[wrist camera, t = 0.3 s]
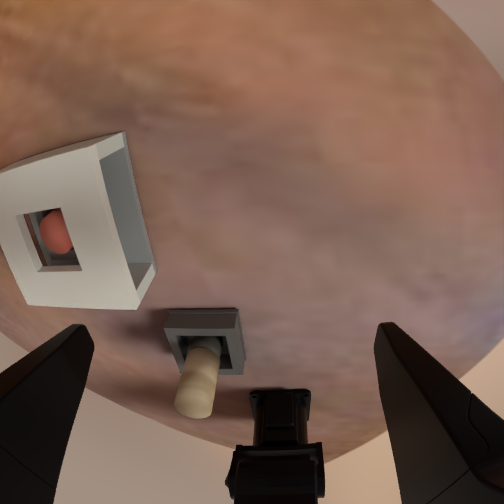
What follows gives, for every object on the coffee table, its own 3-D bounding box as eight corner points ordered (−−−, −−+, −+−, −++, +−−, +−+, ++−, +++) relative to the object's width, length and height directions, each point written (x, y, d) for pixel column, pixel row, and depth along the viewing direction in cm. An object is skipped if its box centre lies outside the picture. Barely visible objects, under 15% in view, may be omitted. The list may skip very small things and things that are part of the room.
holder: (246, 357, 29) (244, 375, 27) (184, 356, 29) (179, 373, 27) (238, 308, 26) (235, 327, 24) (169, 309, 26) (162, 327, 24)
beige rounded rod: (226, 349, 28) (214, 419, 21) (196, 348, 28) (179, 416, 22) (221, 326, 26) (207, 400, 20) (189, 326, 27) (168, 397, 20)
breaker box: (157, 270, 24) (136, 309, 20) (54, 273, 25) (28, 304, 21) (124, 131, 19) (88, 147, 15) (17, 161, 20) (-21, 181, 16)
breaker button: (90, 239, 21) (77, 252, 20) (61, 241, 22) (47, 254, 20) (78, 201, 20) (64, 213, 18) (49, 206, 20) (34, 218, 18)
